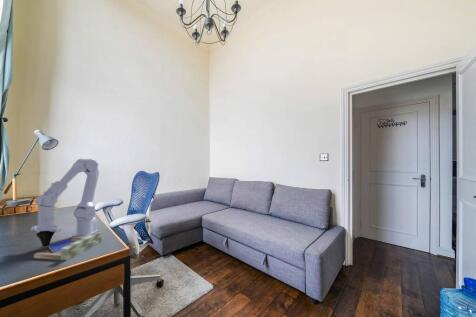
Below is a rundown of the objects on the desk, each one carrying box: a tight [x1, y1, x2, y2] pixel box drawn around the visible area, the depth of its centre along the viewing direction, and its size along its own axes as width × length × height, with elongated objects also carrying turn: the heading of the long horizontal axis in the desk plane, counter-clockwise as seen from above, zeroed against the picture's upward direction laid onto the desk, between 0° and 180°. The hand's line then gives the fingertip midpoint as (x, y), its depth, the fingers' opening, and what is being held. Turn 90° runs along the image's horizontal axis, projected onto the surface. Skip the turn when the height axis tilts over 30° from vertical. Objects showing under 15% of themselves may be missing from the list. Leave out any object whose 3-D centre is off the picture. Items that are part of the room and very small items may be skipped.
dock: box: [33, 231, 102, 261], centre depth 95 cm, size 19×16×5 cm
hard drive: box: [48, 239, 74, 254], centre depth 96 cm, size 2×8×12 cm
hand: (46, 245), depth 96 cm, fingers closed
